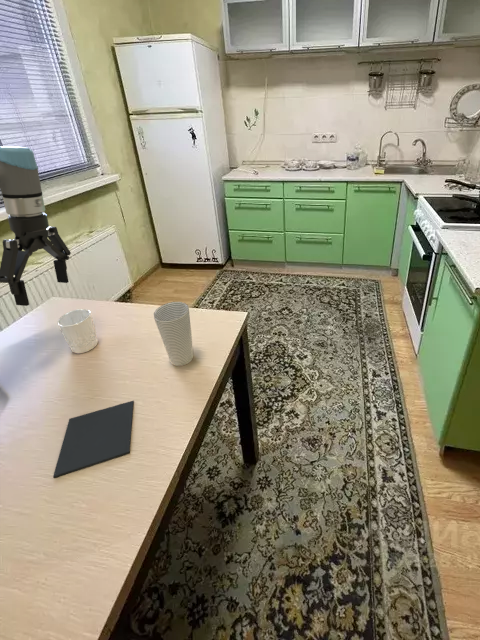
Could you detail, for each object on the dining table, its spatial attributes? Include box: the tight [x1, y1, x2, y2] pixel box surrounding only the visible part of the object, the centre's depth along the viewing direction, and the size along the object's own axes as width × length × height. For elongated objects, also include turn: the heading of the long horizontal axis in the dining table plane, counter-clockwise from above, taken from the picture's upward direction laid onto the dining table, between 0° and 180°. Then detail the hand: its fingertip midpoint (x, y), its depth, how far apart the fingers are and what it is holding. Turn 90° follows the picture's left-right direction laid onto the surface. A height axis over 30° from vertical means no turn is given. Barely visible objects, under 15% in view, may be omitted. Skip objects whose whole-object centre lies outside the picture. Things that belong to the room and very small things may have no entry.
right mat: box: [52, 400, 135, 479], centre depth 67 cm, size 13×13×1 cm
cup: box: [153, 301, 194, 367], centre depth 84 cm, size 8×8×16 cm
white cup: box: [57, 308, 99, 354], centre depth 91 cm, size 8×8×10 cm
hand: (44, 292), depth 85 cm, fingers open, 13 cm apart
